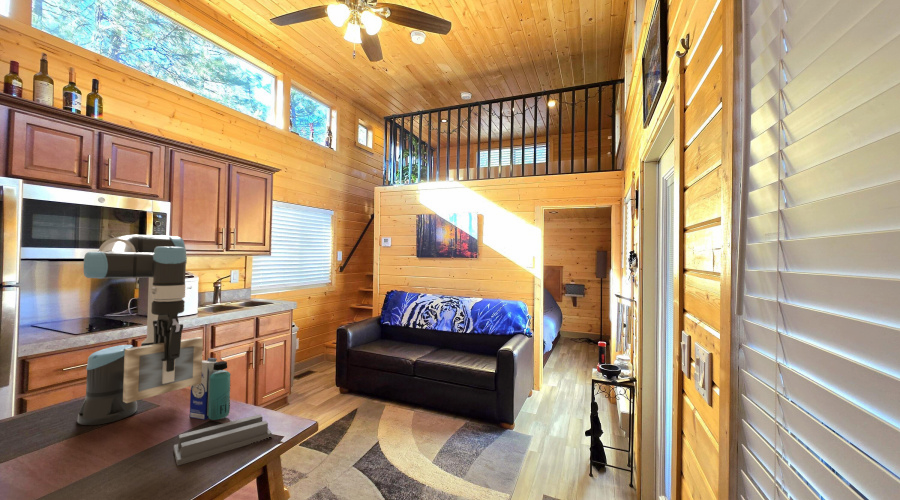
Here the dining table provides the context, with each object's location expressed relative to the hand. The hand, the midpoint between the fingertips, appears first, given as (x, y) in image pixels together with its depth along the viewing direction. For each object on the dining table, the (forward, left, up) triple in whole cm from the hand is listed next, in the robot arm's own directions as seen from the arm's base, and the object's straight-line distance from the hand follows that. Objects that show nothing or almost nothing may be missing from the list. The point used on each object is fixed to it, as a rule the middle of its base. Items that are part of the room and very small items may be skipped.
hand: (165, 380), depth 104 cm
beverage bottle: (-20, +7, -21) cm, 30 cm away
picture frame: (0, 0, -3) cm, 3 cm away
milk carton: (-25, +1, -21) cm, 33 cm away
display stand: (-3, +15, -21) cm, 26 cm away
